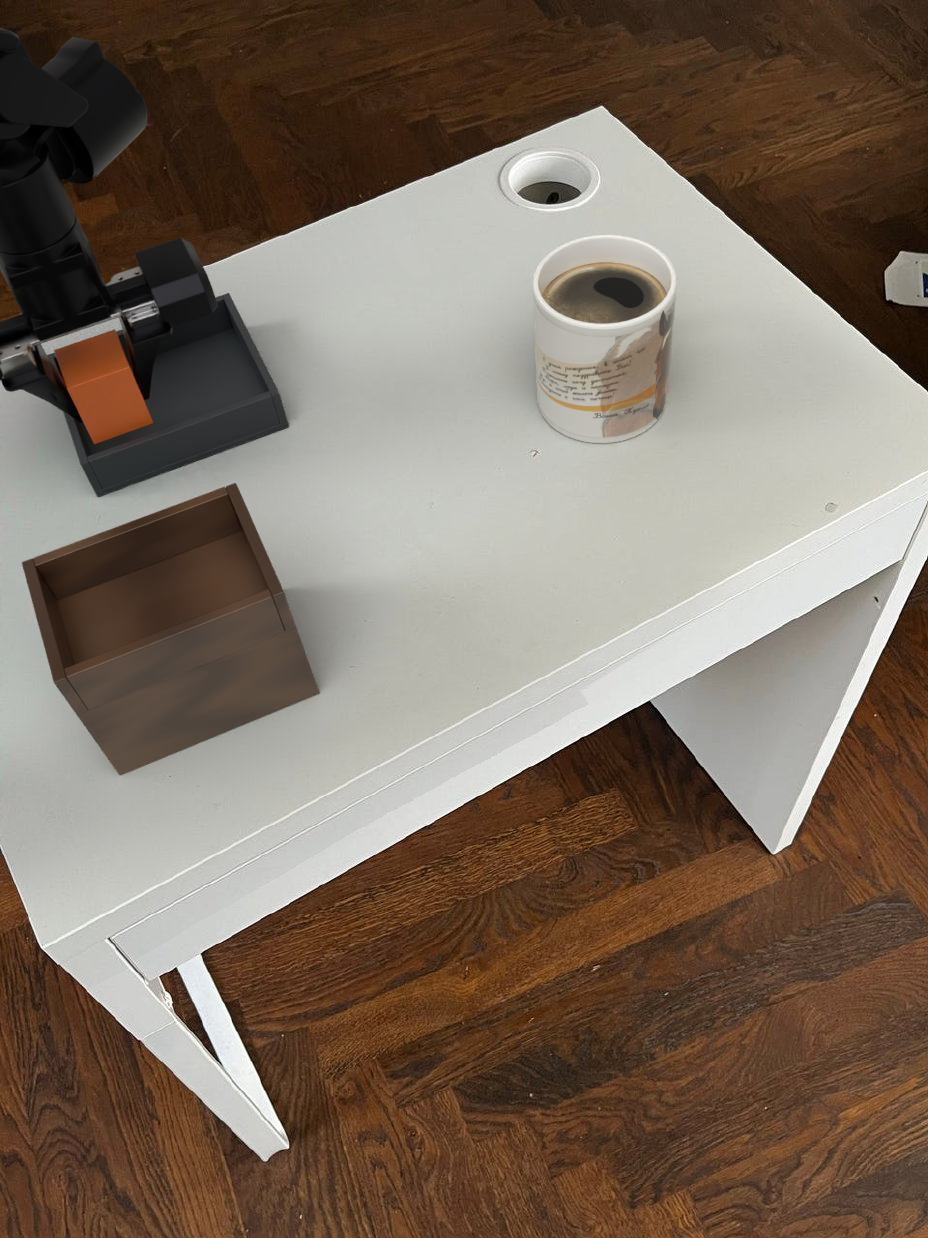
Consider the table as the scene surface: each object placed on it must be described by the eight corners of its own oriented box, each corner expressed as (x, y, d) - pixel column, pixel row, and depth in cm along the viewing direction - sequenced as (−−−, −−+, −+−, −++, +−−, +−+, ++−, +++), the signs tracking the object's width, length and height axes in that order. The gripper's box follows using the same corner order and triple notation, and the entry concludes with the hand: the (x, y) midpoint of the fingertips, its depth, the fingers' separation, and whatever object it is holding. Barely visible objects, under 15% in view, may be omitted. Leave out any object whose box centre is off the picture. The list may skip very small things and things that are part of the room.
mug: (506, 384, 89) (498, 266, 80) (630, 319, 92) (635, 198, 83) (588, 464, 83) (589, 347, 74) (717, 392, 86) (733, 271, 77)
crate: (119, 776, 72) (53, 683, 63) (86, 662, 77) (21, 561, 68) (320, 693, 74) (284, 592, 65) (274, 589, 79) (235, 481, 70)
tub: (97, 497, 85) (80, 464, 82) (61, 389, 93) (44, 355, 90) (289, 427, 88) (279, 392, 85) (239, 327, 95) (228, 292, 92)
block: (94, 444, 83) (66, 388, 79) (80, 406, 86) (53, 349, 81) (153, 423, 84) (129, 366, 80) (138, 385, 87) (114, 328, 82)
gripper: (142, 118, 78) (204, 302, 90) (-134, 204, 75) (-30, 382, 87) (186, 205, 72) (246, 390, 84) (-113, 303, 68) (-4, 479, 81)
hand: (113, 407), depth 84 cm, fingers closed on block, 4 cm apart
